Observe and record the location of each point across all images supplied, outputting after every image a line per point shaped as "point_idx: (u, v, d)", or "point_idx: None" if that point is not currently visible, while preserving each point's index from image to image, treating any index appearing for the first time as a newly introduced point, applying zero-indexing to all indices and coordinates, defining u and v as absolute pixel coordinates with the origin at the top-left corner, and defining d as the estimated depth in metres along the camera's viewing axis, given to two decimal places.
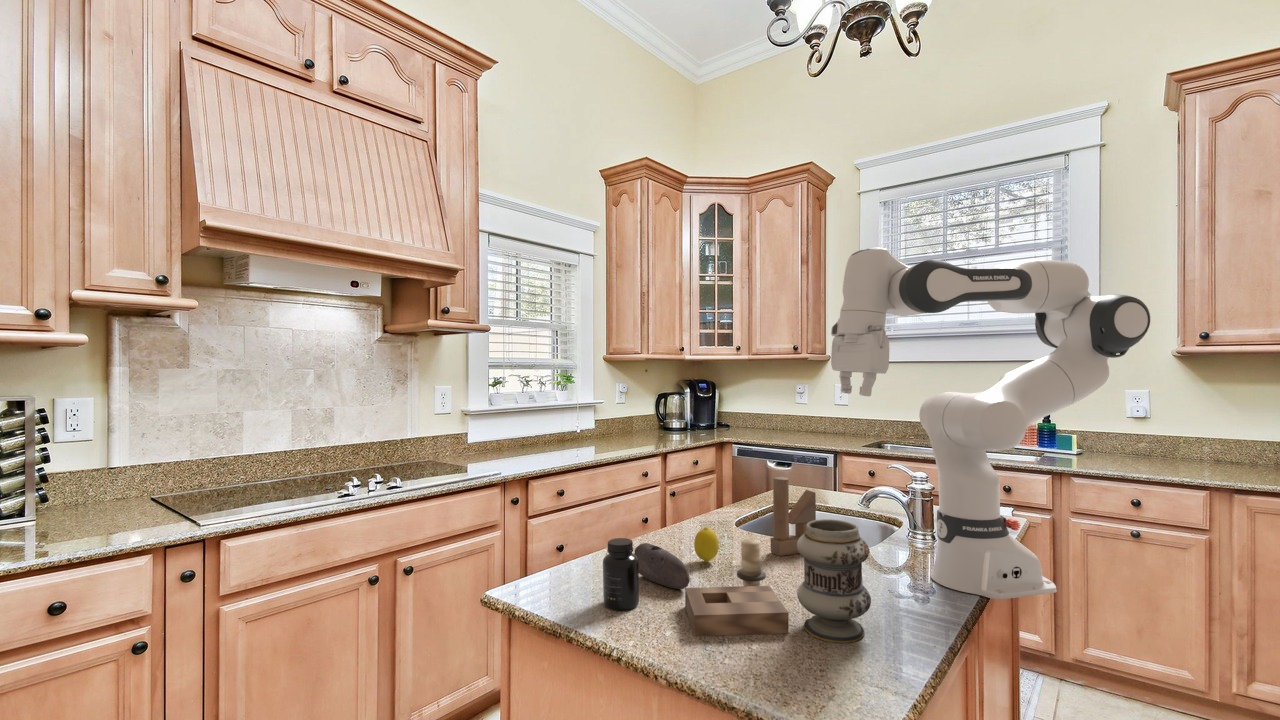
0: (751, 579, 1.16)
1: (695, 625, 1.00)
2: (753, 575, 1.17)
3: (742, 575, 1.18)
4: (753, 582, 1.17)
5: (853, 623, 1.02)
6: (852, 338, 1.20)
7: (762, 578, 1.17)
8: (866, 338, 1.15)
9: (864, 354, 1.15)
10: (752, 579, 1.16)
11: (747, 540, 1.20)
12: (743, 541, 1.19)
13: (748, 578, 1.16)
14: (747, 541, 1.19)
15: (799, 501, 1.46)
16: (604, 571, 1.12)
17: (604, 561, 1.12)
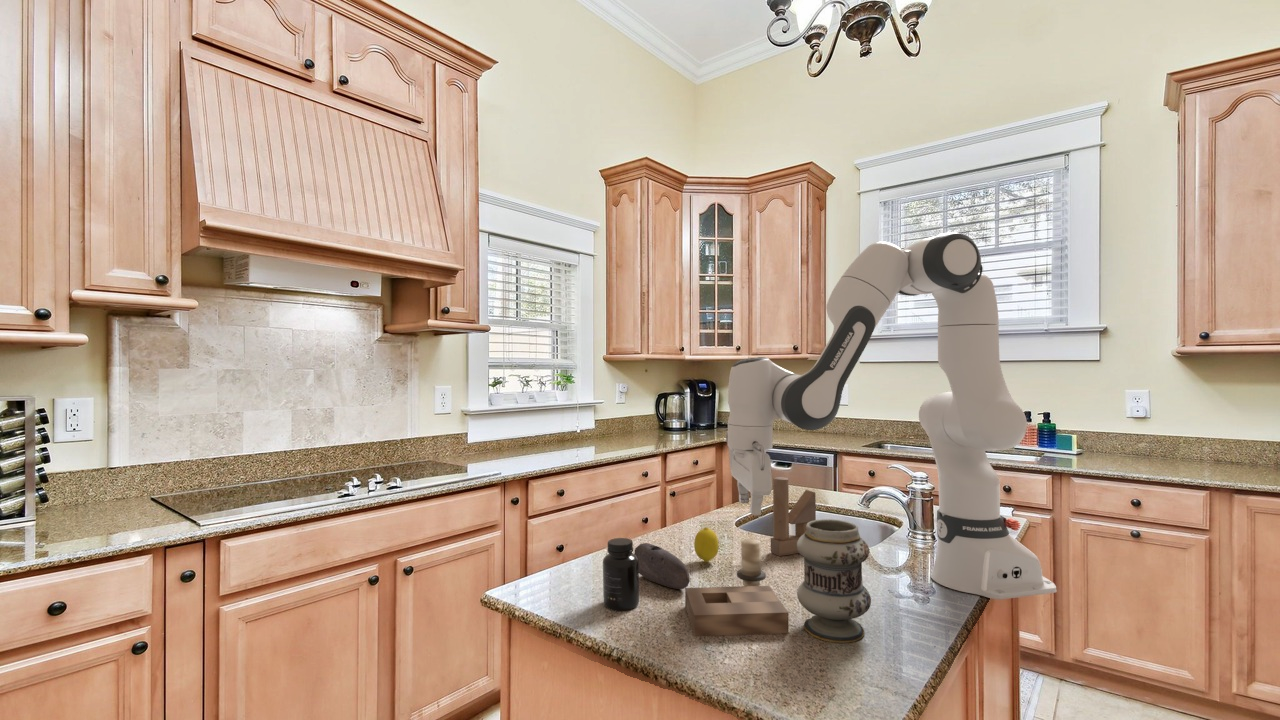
0: (751, 579, 1.16)
1: (695, 625, 1.00)
2: (753, 575, 1.17)
3: (742, 575, 1.18)
4: (753, 582, 1.17)
5: (853, 623, 1.02)
6: (739, 453, 1.17)
7: (762, 578, 1.17)
8: (749, 458, 1.12)
9: (749, 474, 1.12)
10: (752, 579, 1.16)
11: (747, 540, 1.20)
12: (743, 541, 1.19)
13: (748, 578, 1.16)
14: (747, 541, 1.19)
15: (799, 501, 1.46)
16: (604, 571, 1.12)
17: (604, 561, 1.12)
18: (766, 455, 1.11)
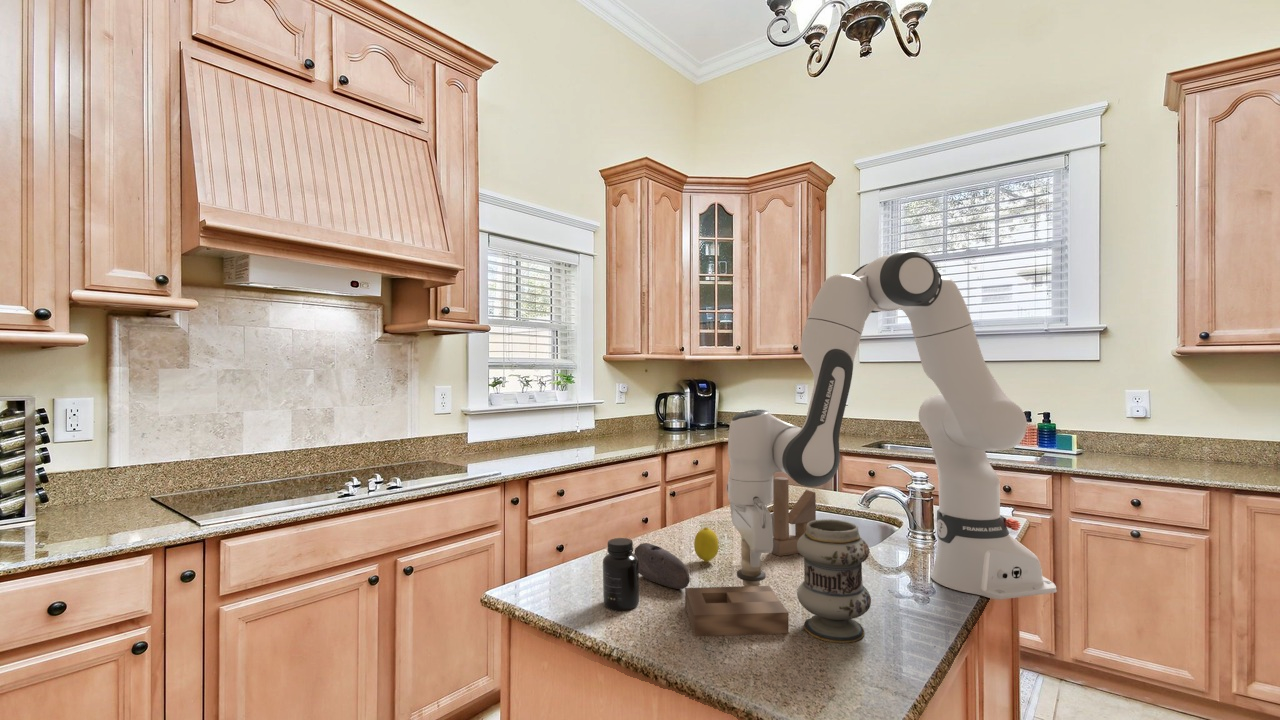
0: (751, 579, 1.16)
1: (695, 625, 1.00)
2: (753, 575, 1.17)
3: (742, 575, 1.18)
4: (753, 582, 1.17)
5: (853, 623, 1.02)
6: (740, 507, 1.17)
7: (762, 578, 1.17)
8: (750, 514, 1.12)
9: (750, 531, 1.12)
10: (752, 579, 1.16)
11: None
12: (743, 541, 1.19)
13: (748, 578, 1.16)
14: None
15: (799, 501, 1.46)
16: (604, 571, 1.12)
17: (604, 561, 1.12)
18: (767, 512, 1.11)
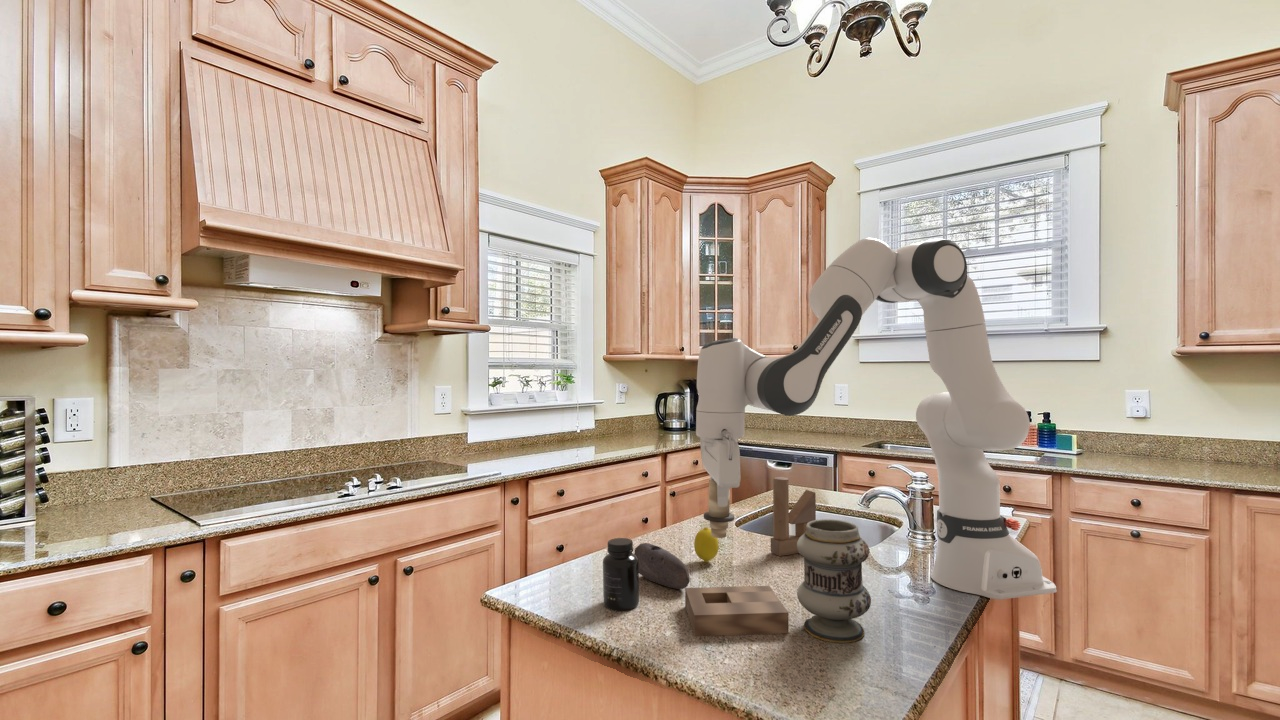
0: (718, 520, 1.07)
1: (695, 625, 1.00)
2: (720, 516, 1.08)
3: (708, 516, 1.08)
4: (720, 524, 1.08)
5: (853, 623, 1.02)
6: (708, 442, 1.08)
7: (730, 519, 1.08)
8: (716, 447, 1.03)
9: (716, 464, 1.03)
10: (719, 520, 1.07)
11: None
12: (711, 480, 1.10)
13: (715, 519, 1.07)
14: None
15: (799, 501, 1.46)
16: (604, 571, 1.12)
17: (604, 561, 1.12)
18: (735, 444, 1.01)
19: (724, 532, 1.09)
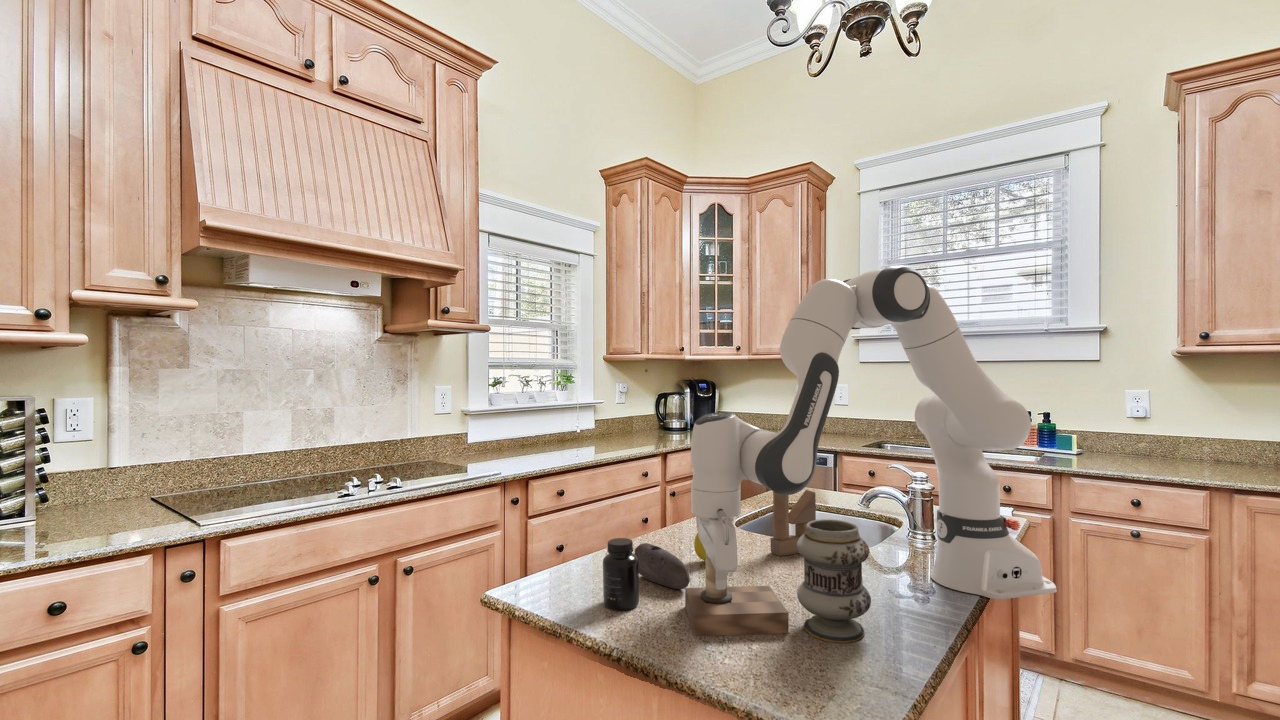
0: (716, 602, 1.05)
1: (695, 625, 1.00)
2: (718, 597, 1.06)
3: (706, 597, 1.06)
4: None
5: (853, 623, 1.02)
6: (704, 520, 1.05)
7: (728, 600, 1.05)
8: (712, 529, 1.00)
9: (713, 547, 1.01)
10: (716, 602, 1.05)
11: None
12: (707, 559, 1.08)
13: (712, 600, 1.05)
14: None
15: (799, 501, 1.46)
16: (604, 571, 1.12)
17: (604, 561, 1.12)
18: (731, 527, 0.99)
19: None
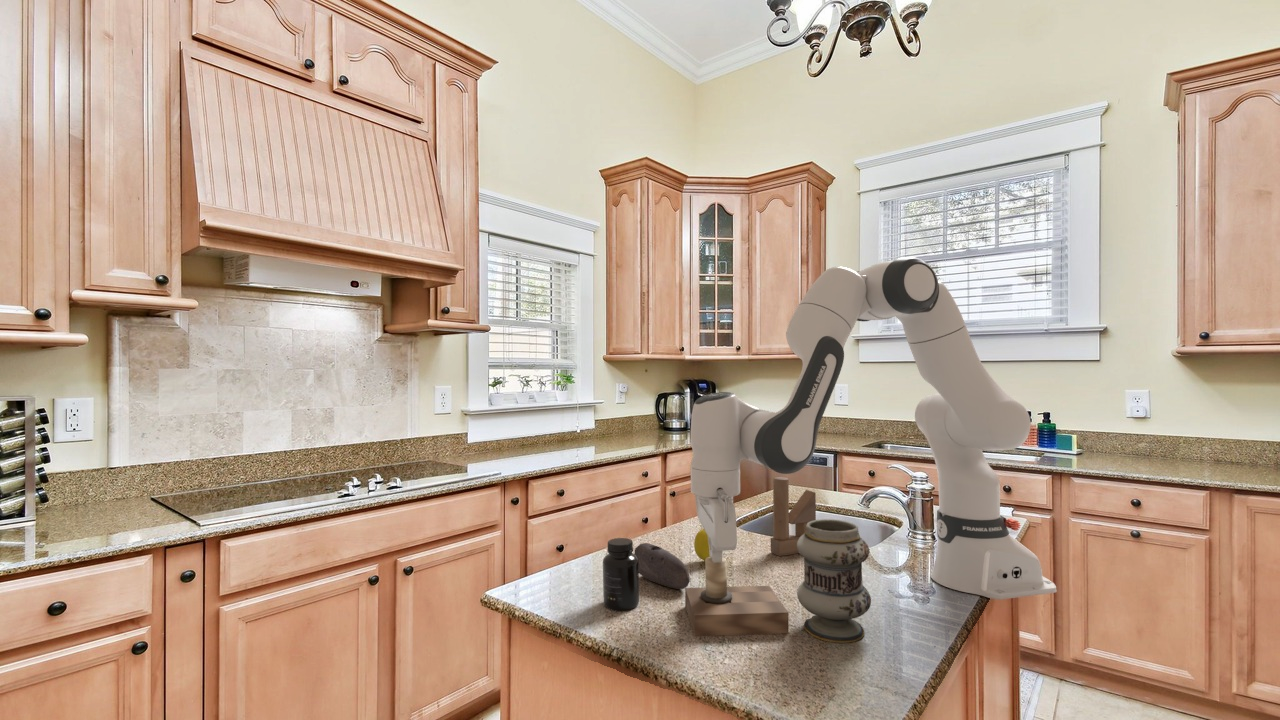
0: (716, 602, 1.05)
1: (695, 625, 1.00)
2: (718, 597, 1.06)
3: (706, 597, 1.06)
4: None
5: (853, 623, 1.02)
6: (703, 500, 1.05)
7: (728, 600, 1.05)
8: (712, 507, 1.00)
9: (712, 526, 1.01)
10: (716, 602, 1.05)
11: None
12: (707, 559, 1.08)
13: (712, 600, 1.05)
14: None
15: (799, 501, 1.46)
16: (604, 571, 1.12)
17: (604, 561, 1.12)
18: (731, 505, 0.99)
19: None
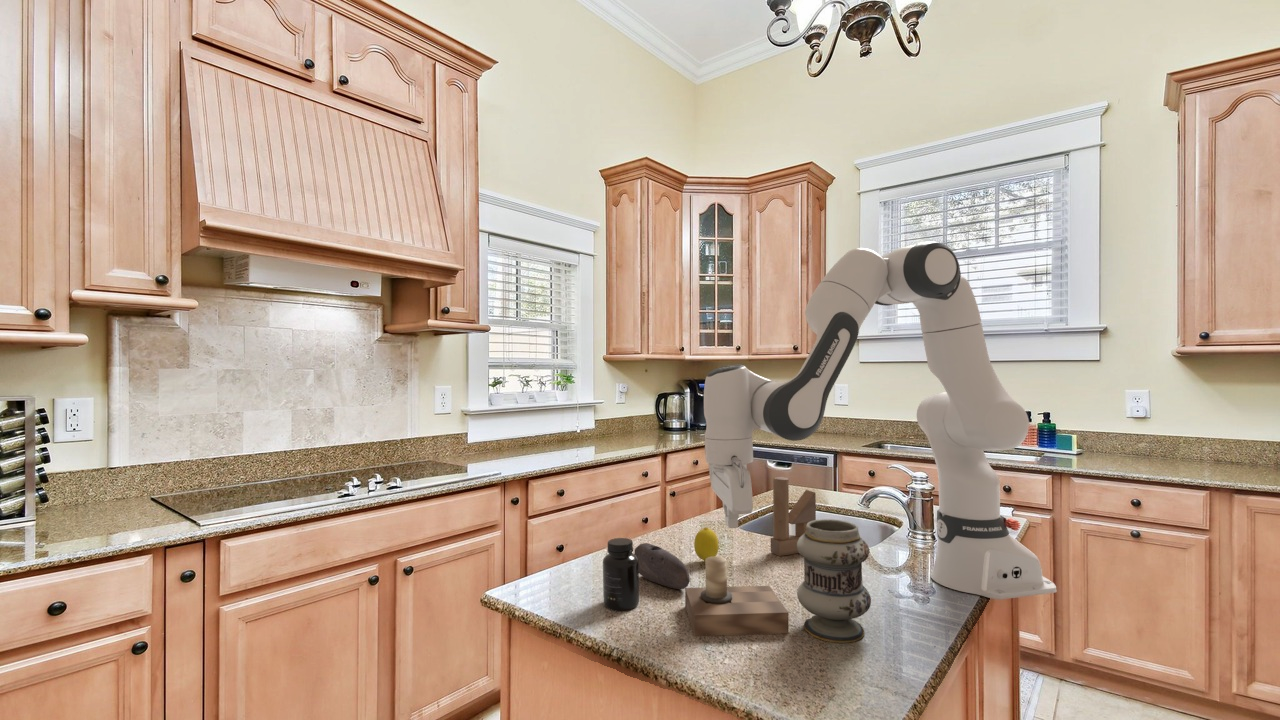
0: (716, 602, 1.05)
1: (695, 625, 1.00)
2: (718, 597, 1.06)
3: (706, 597, 1.06)
4: None
5: (853, 623, 1.02)
6: (718, 468, 1.10)
7: (728, 600, 1.05)
8: (727, 474, 1.05)
9: (728, 491, 1.05)
10: (716, 602, 1.05)
11: (712, 558, 1.09)
12: (707, 559, 1.08)
13: (712, 600, 1.05)
14: (712, 559, 1.08)
15: (799, 501, 1.46)
16: (604, 571, 1.12)
17: (604, 561, 1.12)
18: (746, 471, 1.03)
19: None
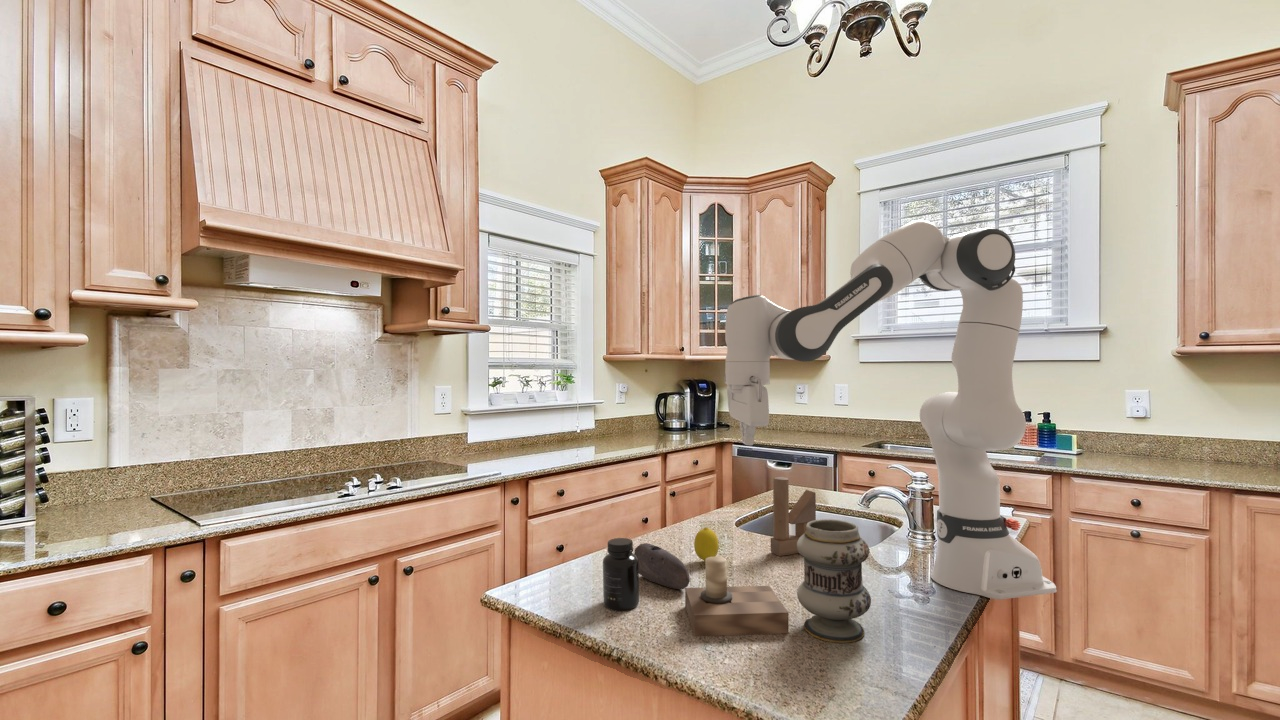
0: (716, 602, 1.05)
1: (695, 625, 1.00)
2: (718, 597, 1.06)
3: (706, 597, 1.06)
4: None
5: (853, 623, 1.02)
6: (737, 389, 1.19)
7: (728, 600, 1.05)
8: (746, 391, 1.14)
9: (746, 407, 1.14)
10: (716, 602, 1.05)
11: (712, 558, 1.09)
12: (707, 559, 1.08)
13: (712, 600, 1.05)
14: (712, 559, 1.08)
15: (799, 501, 1.46)
16: (604, 571, 1.12)
17: (604, 561, 1.12)
18: (763, 387, 1.13)
19: None
